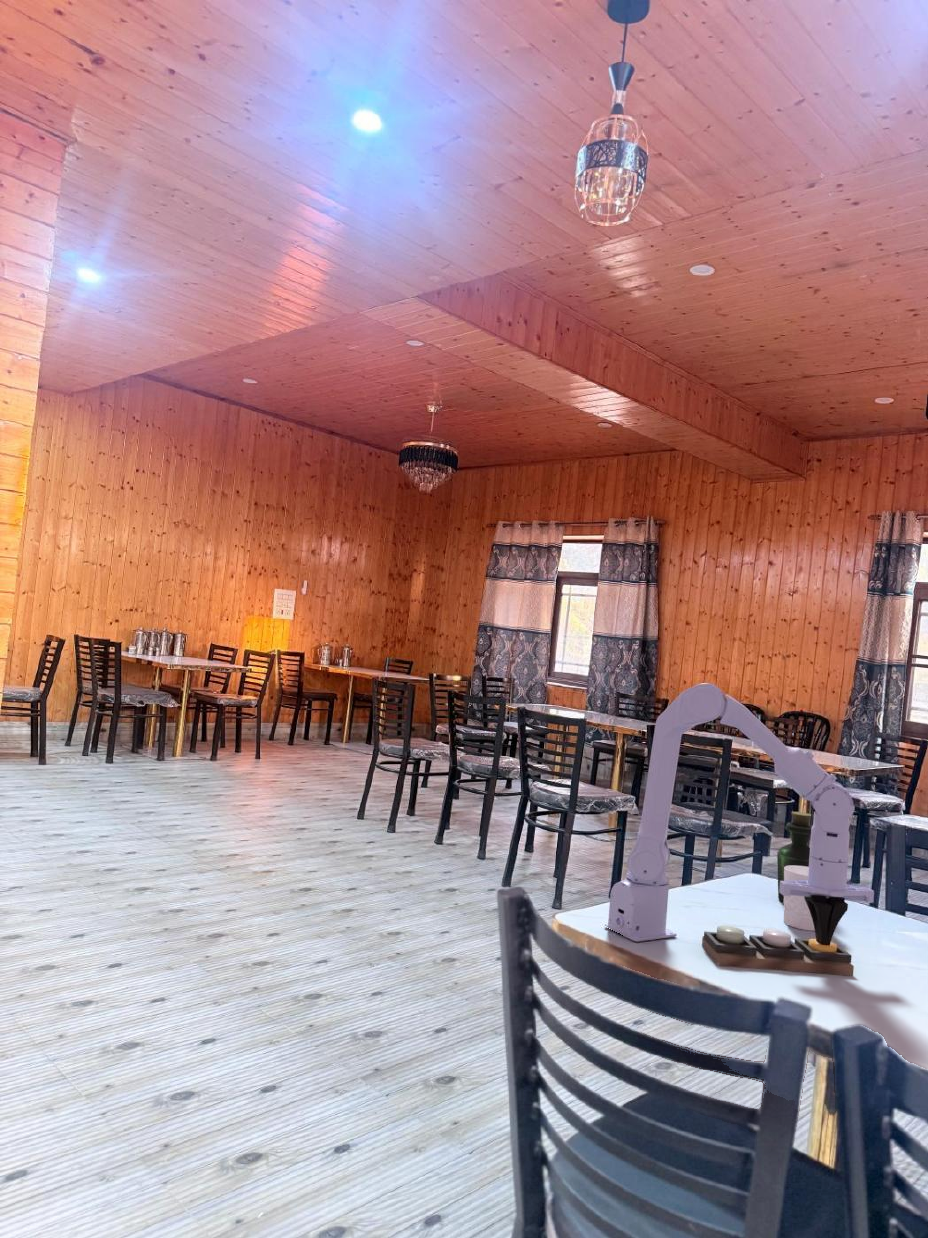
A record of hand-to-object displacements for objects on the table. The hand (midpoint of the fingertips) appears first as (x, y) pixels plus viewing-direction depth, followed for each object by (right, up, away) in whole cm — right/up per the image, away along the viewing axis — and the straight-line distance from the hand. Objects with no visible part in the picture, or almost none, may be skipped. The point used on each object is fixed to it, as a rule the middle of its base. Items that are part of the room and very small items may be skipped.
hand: (822, 943), depth 138 cm
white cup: (+5, -5, +21) cm, 22 cm away
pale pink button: (-8, 0, 0) cm, 8 cm away
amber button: (0, -1, 0) cm, 1 cm away
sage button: (-15, +1, 0) cm, 15 cm away
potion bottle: (+10, -6, +36) cm, 38 cm away
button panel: (-8, -3, 0) cm, 8 cm away
